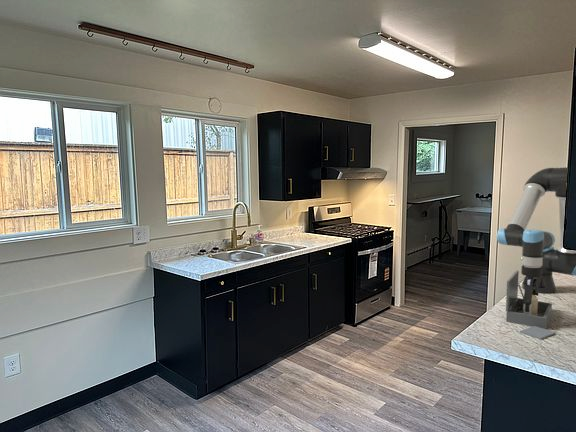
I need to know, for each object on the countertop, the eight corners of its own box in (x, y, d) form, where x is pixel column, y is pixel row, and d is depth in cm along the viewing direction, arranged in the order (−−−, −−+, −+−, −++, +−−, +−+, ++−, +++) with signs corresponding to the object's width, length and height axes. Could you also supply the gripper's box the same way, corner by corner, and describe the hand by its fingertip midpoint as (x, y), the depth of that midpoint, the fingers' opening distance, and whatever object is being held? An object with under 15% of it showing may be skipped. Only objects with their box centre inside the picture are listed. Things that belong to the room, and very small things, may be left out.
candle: (519, 316, 175) (520, 294, 174) (527, 314, 177) (528, 292, 176) (531, 320, 170) (532, 297, 169) (539, 318, 172) (541, 295, 171)
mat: (534, 327, 163) (534, 325, 163) (555, 334, 156) (555, 332, 156) (519, 332, 158) (519, 330, 158) (540, 339, 151) (540, 338, 151)
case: (515, 306, 188) (516, 269, 186) (551, 312, 178) (553, 274, 177) (504, 321, 170) (506, 281, 168) (545, 329, 161) (547, 286, 159)
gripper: (526, 259, 183) (524, 304, 186) (516, 270, 164) (514, 320, 166) (545, 261, 179) (543, 307, 181) (537, 273, 159) (535, 324, 162)
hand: (529, 314), depth 174 cm, fingers open, 13 cm apart
